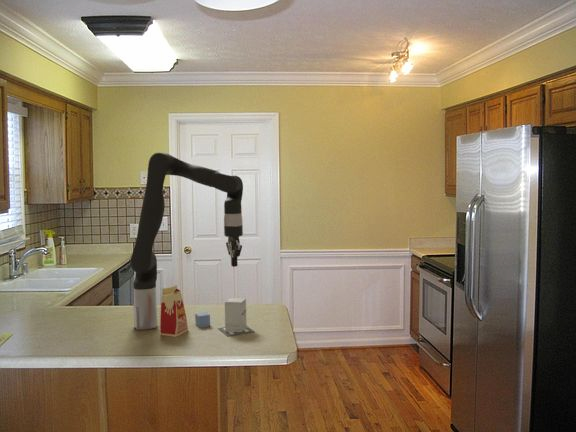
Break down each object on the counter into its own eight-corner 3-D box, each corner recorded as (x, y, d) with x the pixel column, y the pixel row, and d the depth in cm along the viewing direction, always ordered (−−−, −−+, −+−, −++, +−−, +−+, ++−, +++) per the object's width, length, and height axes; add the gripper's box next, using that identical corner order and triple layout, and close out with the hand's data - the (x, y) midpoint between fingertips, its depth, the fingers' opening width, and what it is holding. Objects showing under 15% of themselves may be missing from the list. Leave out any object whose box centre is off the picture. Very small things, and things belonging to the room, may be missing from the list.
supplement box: (242, 332, 212) (241, 302, 211) (224, 332, 214) (223, 301, 213) (247, 327, 220) (246, 298, 219) (230, 326, 221) (229, 297, 220)
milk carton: (188, 330, 218) (186, 283, 216) (176, 337, 209) (175, 288, 208) (169, 328, 221) (167, 282, 219) (157, 335, 212) (155, 286, 211)
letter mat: (227, 336, 209) (227, 335, 209) (217, 328, 219) (217, 328, 219) (255, 331, 214) (255, 331, 214) (244, 324, 225) (244, 324, 225)
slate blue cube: (198, 327, 222) (198, 316, 221) (195, 324, 226) (195, 313, 226) (210, 326, 224) (209, 314, 223) (206, 323, 228) (206, 312, 228)
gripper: (219, 223, 217) (220, 264, 219) (230, 226, 206) (231, 269, 207) (236, 222, 221) (237, 263, 222) (247, 225, 209) (248, 267, 210)
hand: (234, 266), depth 215 cm, fingers closed
